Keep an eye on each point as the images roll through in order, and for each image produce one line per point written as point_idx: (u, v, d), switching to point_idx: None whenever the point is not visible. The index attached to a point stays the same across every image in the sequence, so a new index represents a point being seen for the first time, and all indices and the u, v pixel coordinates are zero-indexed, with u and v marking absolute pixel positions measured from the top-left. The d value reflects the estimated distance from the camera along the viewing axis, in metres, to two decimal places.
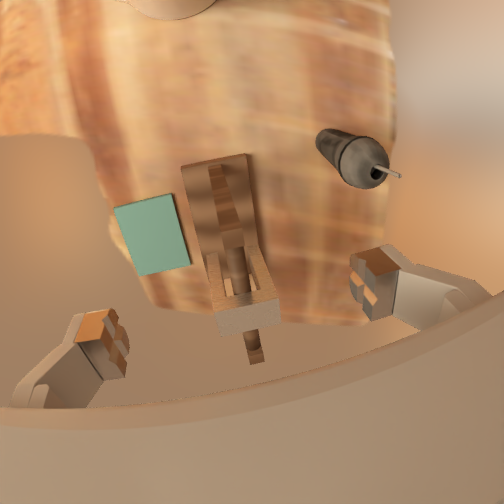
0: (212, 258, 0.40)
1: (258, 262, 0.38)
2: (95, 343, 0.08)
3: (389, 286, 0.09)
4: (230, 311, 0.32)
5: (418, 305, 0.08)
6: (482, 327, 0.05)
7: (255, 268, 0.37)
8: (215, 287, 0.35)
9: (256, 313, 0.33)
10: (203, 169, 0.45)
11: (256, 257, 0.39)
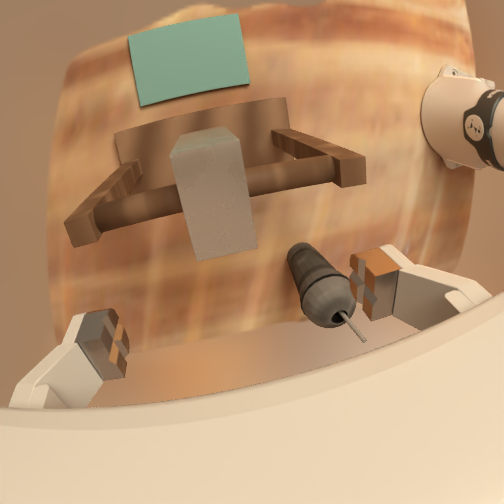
0: None
1: None
2: (95, 343, 0.08)
3: (389, 286, 0.09)
4: (238, 170, 0.17)
5: (418, 305, 0.08)
6: (482, 327, 0.05)
7: None
8: None
9: (228, 215, 0.18)
10: (283, 123, 0.37)
11: None
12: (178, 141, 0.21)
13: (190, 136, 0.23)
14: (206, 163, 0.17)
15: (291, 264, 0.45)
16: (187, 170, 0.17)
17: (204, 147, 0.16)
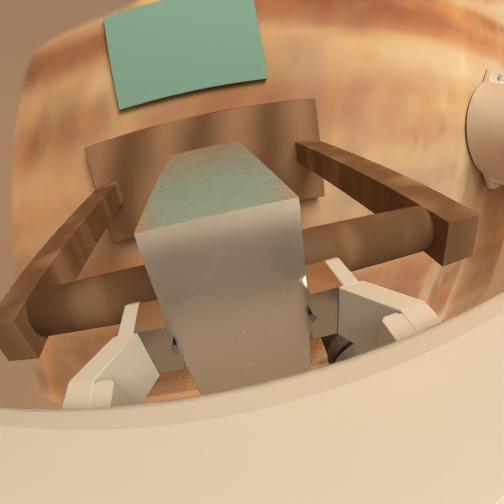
0: None
1: None
2: (159, 332, 0.08)
3: (329, 304, 0.08)
4: (292, 263, 0.08)
5: (361, 325, 0.08)
6: (482, 327, 0.05)
7: None
8: None
9: (265, 343, 0.09)
10: (310, 133, 0.27)
11: None
12: (163, 175, 0.12)
13: (185, 162, 0.14)
14: (221, 252, 0.08)
15: None
16: (178, 267, 0.07)
17: (216, 215, 0.07)
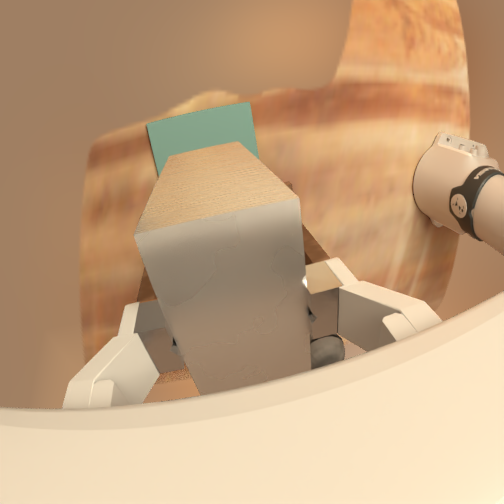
0: None
1: None
2: (159, 332, 0.08)
3: (329, 304, 0.08)
4: (292, 263, 0.08)
5: (361, 325, 0.08)
6: (482, 327, 0.05)
7: None
8: None
9: (265, 344, 0.09)
10: None
11: None
12: (163, 175, 0.12)
13: (184, 163, 0.14)
14: (221, 252, 0.07)
15: None
16: (178, 268, 0.07)
17: (216, 216, 0.07)
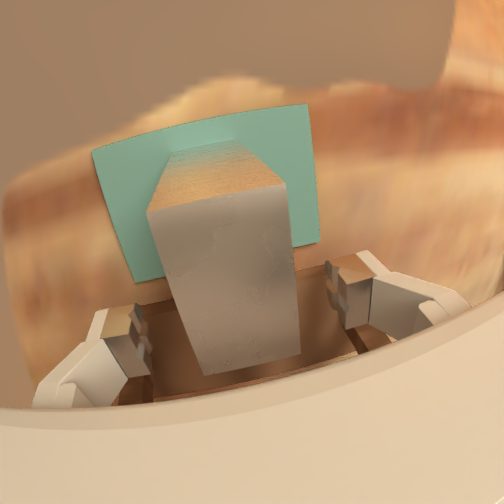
0: None
1: None
2: (123, 338, 0.08)
3: (363, 294, 0.08)
4: (281, 240, 0.09)
5: (393, 314, 0.08)
6: (482, 327, 0.05)
7: None
8: None
9: (258, 315, 0.11)
10: None
11: None
12: (168, 168, 0.13)
13: (187, 157, 0.15)
14: (219, 229, 0.09)
15: None
16: (182, 242, 0.09)
17: (215, 198, 0.08)
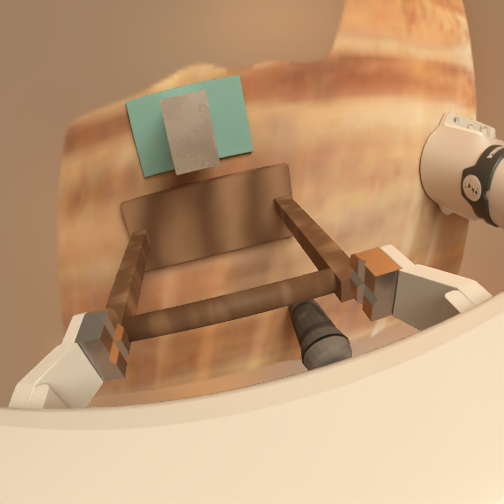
0: None
1: None
2: (95, 343, 0.08)
3: (389, 286, 0.09)
4: (205, 109, 0.24)
5: (418, 305, 0.08)
6: (482, 327, 0.05)
7: None
8: None
9: (198, 140, 0.25)
10: (285, 190, 0.40)
11: None
12: None
13: None
14: (183, 105, 0.24)
15: (293, 317, 0.48)
16: (171, 110, 0.24)
17: (182, 94, 0.23)
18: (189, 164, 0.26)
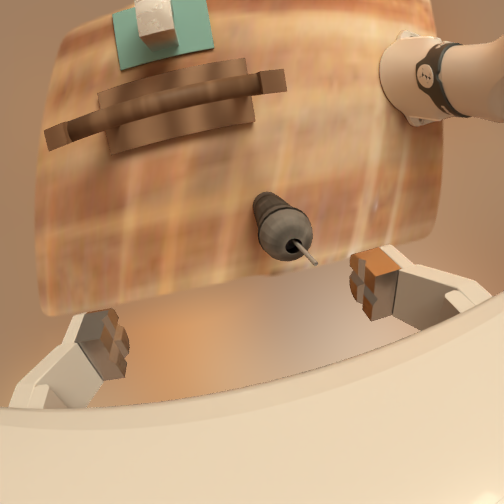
0: None
1: None
2: (95, 343, 0.08)
3: (389, 286, 0.09)
4: None
5: (418, 305, 0.08)
6: (482, 327, 0.05)
7: (175, 29, 0.31)
8: None
9: (158, 12, 0.25)
10: None
11: (177, 36, 0.33)
12: None
13: None
14: None
15: (255, 209, 0.47)
16: None
17: None
18: (150, 28, 0.26)
